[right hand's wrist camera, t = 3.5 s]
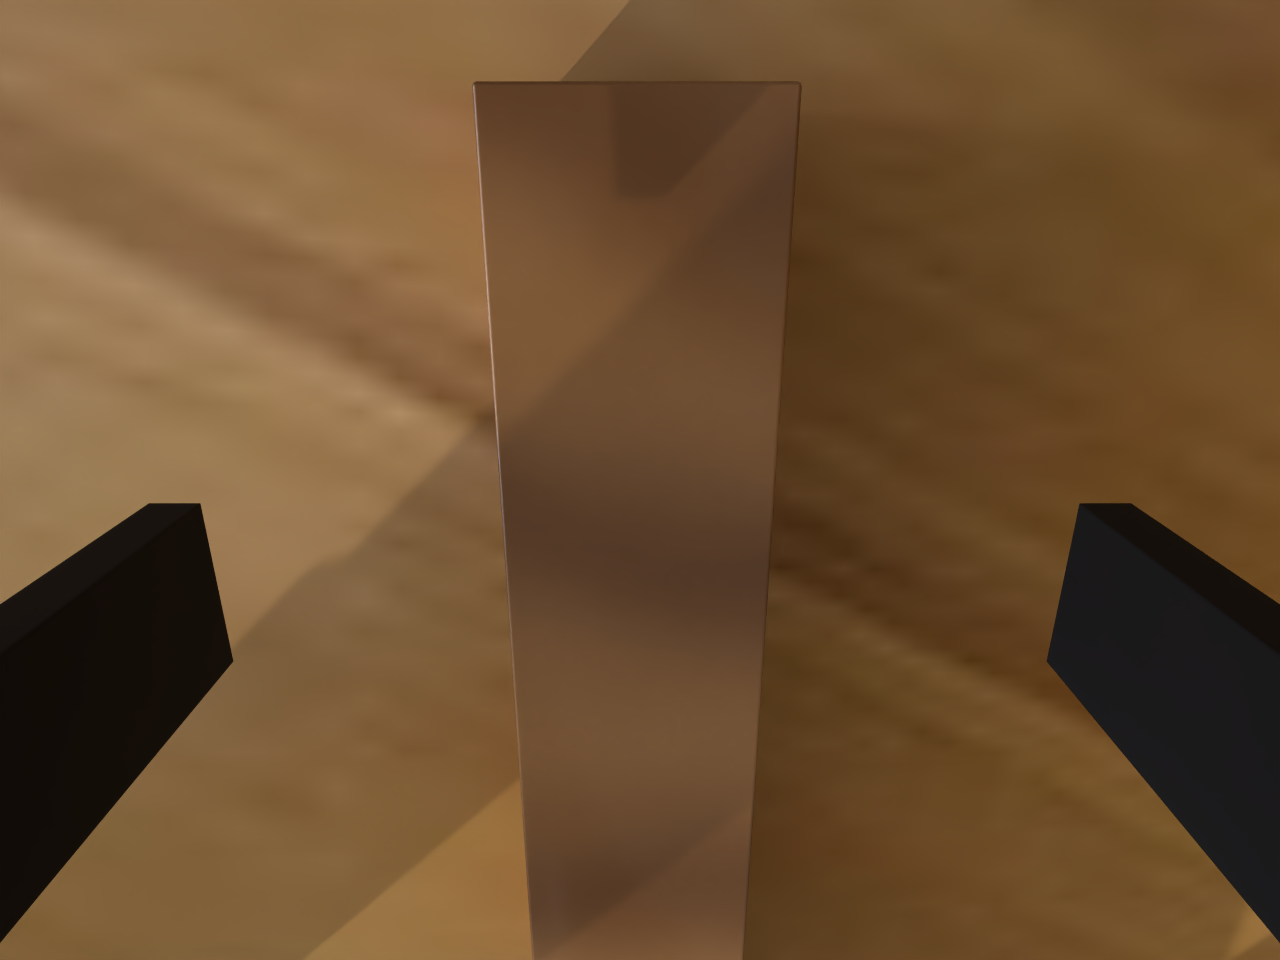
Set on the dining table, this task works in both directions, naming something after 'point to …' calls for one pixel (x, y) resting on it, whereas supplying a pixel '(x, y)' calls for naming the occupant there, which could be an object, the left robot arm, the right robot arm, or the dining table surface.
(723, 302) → the bar
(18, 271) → the dining table surface
